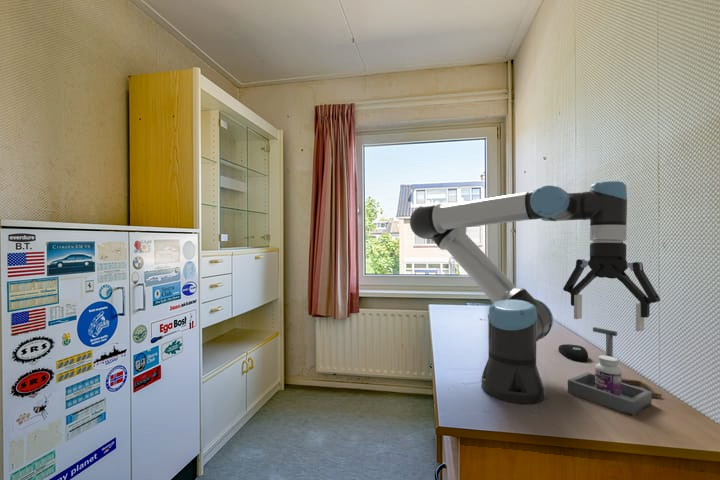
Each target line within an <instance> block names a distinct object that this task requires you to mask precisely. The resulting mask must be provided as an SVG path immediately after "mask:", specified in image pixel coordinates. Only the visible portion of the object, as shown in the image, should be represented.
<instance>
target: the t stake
mask: <svg viewBox="0 0 720 480" xmlns="http://www.w3.org/2000/svg"><path fill="white" fill-rule="evenodd" d="M592 332H594V333H598V334H603V335H605V356H610V357H614V353H613V351H614V346H613V345H614V343H613V342H614V341H613V339H614V338H613V337H617V336H618V331H616V330H611V329H607V328H600V327H595V326H594V327H592Z"/></svg>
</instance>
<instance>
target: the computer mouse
mask: <svg viewBox="0 0 720 480" xmlns="http://www.w3.org/2000/svg"><path fill="white" fill-rule="evenodd" d="M558 352H559V353H560V354H561V355H562V356H563V357H565V358H566V359H568V360H571V361H574V362H580V363H587V362H589V353H588V351H587V349H586V347H584V346H581V345H577V344H572V343H568V344H567V343H566V344H560V345H559V346H558Z"/></svg>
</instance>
